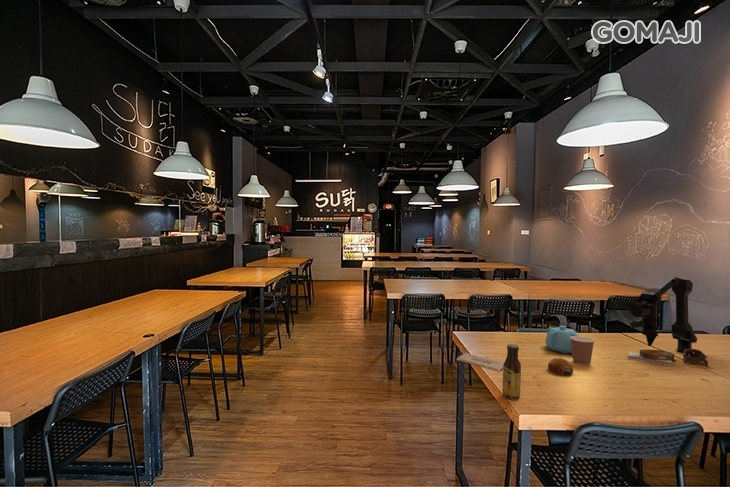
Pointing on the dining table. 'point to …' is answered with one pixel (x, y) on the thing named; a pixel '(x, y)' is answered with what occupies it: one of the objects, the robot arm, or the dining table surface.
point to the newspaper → (481, 362)
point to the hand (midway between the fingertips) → (649, 345)
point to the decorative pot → (560, 339)
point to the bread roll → (560, 367)
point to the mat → (638, 357)
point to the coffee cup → (582, 349)
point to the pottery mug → (694, 356)
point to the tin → (657, 354)
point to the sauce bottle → (512, 373)
